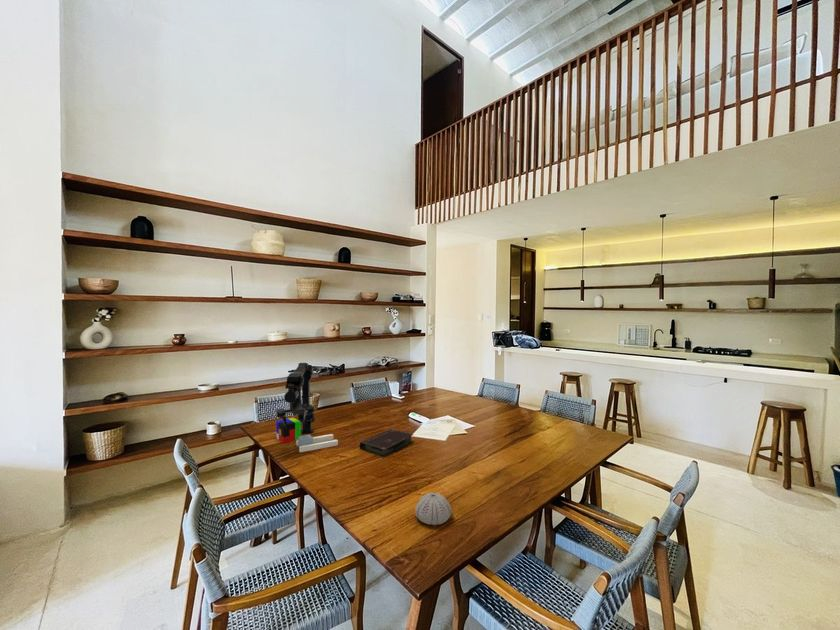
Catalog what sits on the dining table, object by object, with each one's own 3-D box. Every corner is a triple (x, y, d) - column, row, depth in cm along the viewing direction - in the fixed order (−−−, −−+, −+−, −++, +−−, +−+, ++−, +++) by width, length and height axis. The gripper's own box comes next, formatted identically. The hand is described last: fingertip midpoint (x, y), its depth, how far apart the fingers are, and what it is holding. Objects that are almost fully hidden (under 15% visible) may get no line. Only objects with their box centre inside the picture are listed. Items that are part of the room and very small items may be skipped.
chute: (296, 444, 189) (296, 440, 189) (332, 438, 199) (332, 433, 199) (299, 452, 179) (299, 447, 179) (337, 445, 189) (337, 440, 189)
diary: (359, 450, 184) (358, 441, 184) (389, 436, 204) (389, 428, 204) (384, 458, 173) (384, 448, 173) (414, 443, 193) (414, 434, 193)
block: (298, 446, 187) (298, 436, 187) (309, 444, 190) (309, 434, 190) (301, 450, 182) (301, 440, 182) (313, 447, 186) (313, 437, 185)
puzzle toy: (276, 438, 198) (276, 421, 198) (293, 434, 205) (293, 417, 205) (283, 443, 191) (283, 425, 191) (300, 438, 198) (300, 421, 198)
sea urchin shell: (429, 533, 115) (429, 510, 115) (407, 514, 126) (407, 492, 126) (459, 519, 123) (459, 497, 123) (435, 502, 134) (435, 482, 134)
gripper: (278, 403, 170) (278, 434, 171) (316, 398, 180) (316, 428, 180) (275, 398, 180) (275, 427, 180) (311, 394, 189) (311, 422, 190)
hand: (295, 426), depth 182 cm, fingers open, 9 cm apart
